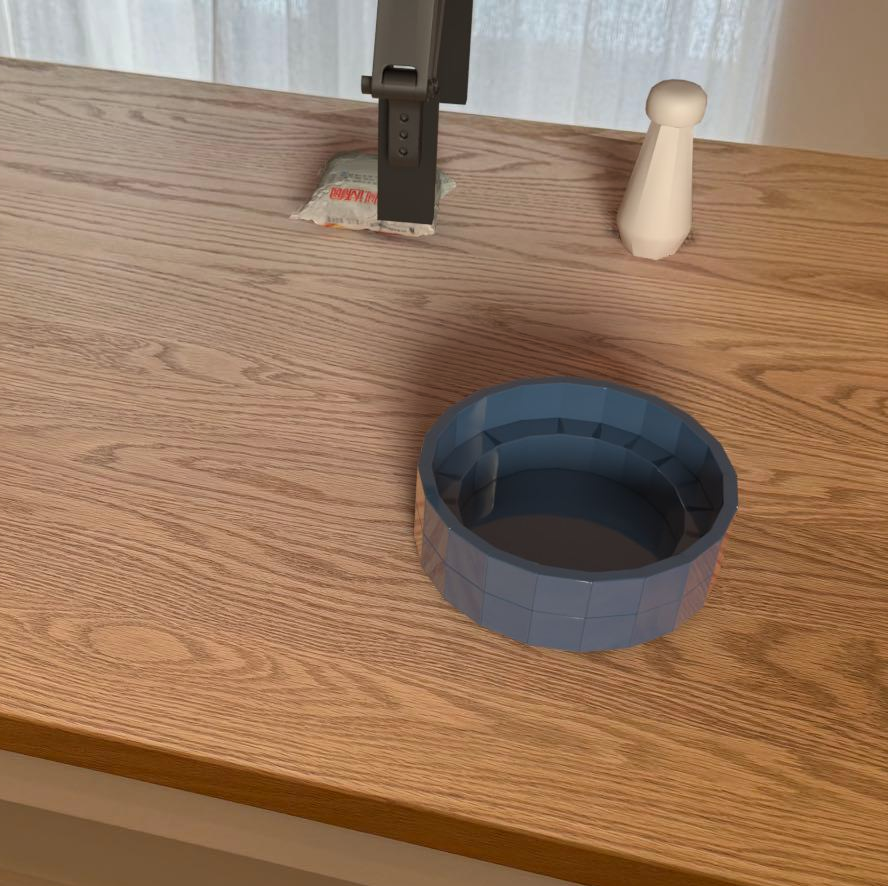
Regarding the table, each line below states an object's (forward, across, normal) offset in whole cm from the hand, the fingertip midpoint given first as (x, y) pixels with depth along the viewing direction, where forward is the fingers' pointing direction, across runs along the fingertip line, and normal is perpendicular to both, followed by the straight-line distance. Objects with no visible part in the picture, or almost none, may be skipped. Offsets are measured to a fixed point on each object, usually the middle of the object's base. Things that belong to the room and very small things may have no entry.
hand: (425, 156), depth 65 cm
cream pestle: (+21, -29, +14) cm, 39 cm away
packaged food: (+21, -29, -8) cm, 36 cm away
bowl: (+20, +7, +10) cm, 24 cm away
